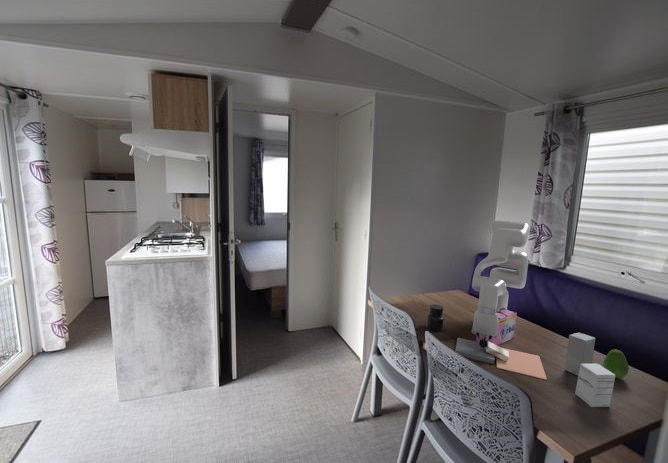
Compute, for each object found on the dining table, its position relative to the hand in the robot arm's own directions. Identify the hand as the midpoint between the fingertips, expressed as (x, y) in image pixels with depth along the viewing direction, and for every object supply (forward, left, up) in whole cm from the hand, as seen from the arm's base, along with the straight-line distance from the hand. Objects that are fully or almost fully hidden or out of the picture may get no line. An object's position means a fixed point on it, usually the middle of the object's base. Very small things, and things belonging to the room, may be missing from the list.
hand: (482, 347), depth 149 cm
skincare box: (-4, +37, -3) cm, 37 cm away
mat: (0, +15, -3) cm, 15 cm away
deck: (0, -3, -3) cm, 4 cm away
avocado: (-6, +50, -3) cm, 50 cm away
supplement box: (+17, +37, -3) cm, 41 cm away
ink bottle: (-17, -23, -3) cm, 29 cm away
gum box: (-18, +6, -3) cm, 20 cm away
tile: (0, +6, -1) cm, 6 cm away
